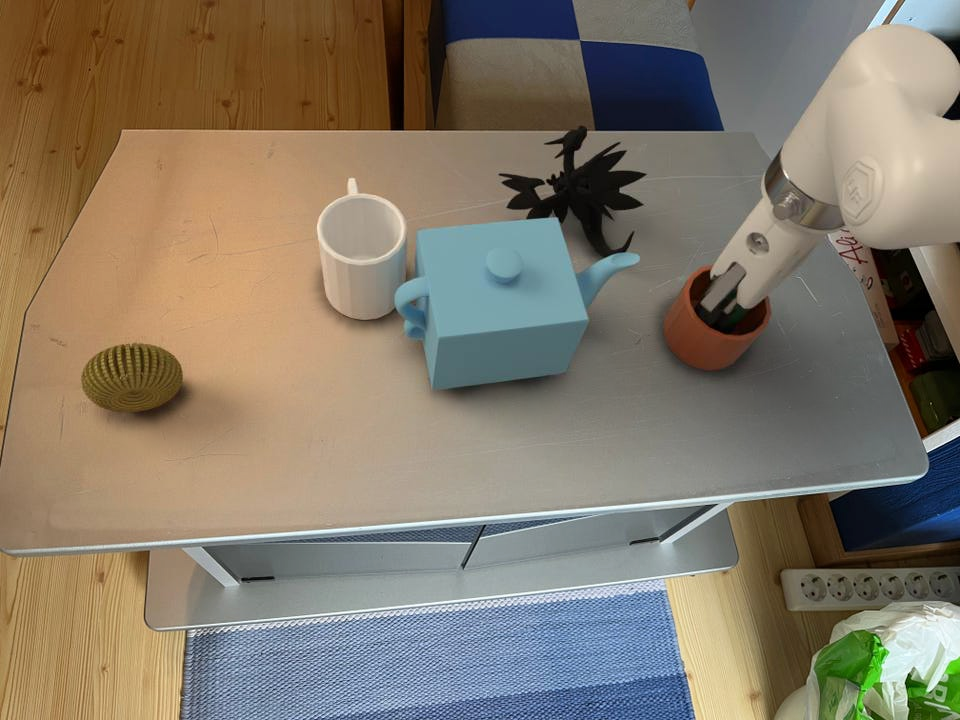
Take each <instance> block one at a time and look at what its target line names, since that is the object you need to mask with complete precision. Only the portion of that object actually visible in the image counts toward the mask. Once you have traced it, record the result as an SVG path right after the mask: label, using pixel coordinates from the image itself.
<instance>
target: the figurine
mask: <svg viewBox="0 0 960 720" xmlns="http://www.w3.org/2000/svg"><path fill="white" fill-rule="evenodd" d="M587 137H588V128H587V127H586V126H585V125H582V124H581V125H579V126H578V128H577V129H571V130H569V131H567V132H566V133H565V134H564V135H563V136H562V137H560V138H557V139H554V140H550V141H547V142H543V145H545V146H552V145H562V149H561V151H560V152H558V153H557V155H555V156H554V159H558V158H560V157H563V159H562V160H563V161H562V167H563V170H560V171H559V176H558V177H556V174H555V173H552V174H551V175H550V178H546V179H545V180H543V179H542V178H538V177H529V176H523V175H518V174H512V173H504V172H503V173H502V172H501V173H498V174H497V175H498V176H499V177H504V178H507V179H505V180H503V181H501V182H500V184H502V185H503V186H504V187H507V188H509V189H511V190H514V191H516V192H518V193H517V194H515V195H514V196H513V197H512V198H511V199H510V200H509V202H508V204H507V205H506V209H508V210H512V211H525V210H529V211H528V212H527V215H526V218H525V220H529V219H541V218H550V216H551V215H552V213H553V214H554V217H558V220H559V223H560V225H563V224H564V222H565V221H566V219H567V216H568V212H569V210H570V211H571V212H572V214H573V216H574V217H575V218H576V219H577V220H578V221H579V222H580V226H581V228H582V231H583V233H584V236H585V238H586V239H587V241H588V242H589V244H590V246H592V248H593V249H594V250H595V252H596V253H597V254H598V255H599V256H601V257H602V258H603V259H604V258H606V257H609V256H611V255H614V254H618V253H627V252H628V249H629V248H630V246H631V243H632V240H633V238H634V235H635V230H632V232H631V233H630V234H629V235H628V237H627V239H626V241H625V243H624V244H623V245H622V246H621V247H619V248H618V247H617V248H616V249H611V247H610V246H609V245H608V243H607V242H606V238H605V236H604V234H603V215H604V216H605V217H607V218H608V219H610V220H612V221H613V222H615V219H614V217H613V215H612V214H611V213H610V211H609V210H608V209H610V210H612V211H613V212H616V211H617V212H618V211H619V212H620V211H628V210H629V211H630V210H634V209H637V208H640V207H643V206H645V204H644V203H642V202H641V201H640V200H638V199H637V198H635V197H634V196H633V197H632V196H631V195H629V194H627V193H622V192H620V191H621V189H622V188H624V187H626V186H628V185H631V184H633V183H635V182H638V181H640V180H641V179H642V178H644V177H646V176H647V175H648V173H645V172H641V171H636V170H627V169H626V170H624V169H623V170H612V169H613V168H615V166H616V165H617V164H618V163H619V162H620V161H621V160H622V159H623V158H624V156H625V155H626V154H627V152H628V149H624V150H617V151H615V152H611V151H612V150H613V149H615V148H616V147H618V146H620V144H621V143H622V142H621V141H617V142H614V143H613V144H611V145H610V146H608V147H606V148H604V149H603V150H601V151H600V152H599V153H597V154H595V155H594V156H593V157H592V158H590V159H589V160H588V161H585V162H584V163H583V165H580V166H578V167H577V168H575V167H576V166H575V152H578V151H579V150H580V149H581V148H582V146H583V143H584V141H585V139H586V138H587ZM609 152H611V153H609ZM546 183H547V184H548V186H550V187H552V190H553V192H554V194H552V195H550V196H548V197H545V198H542V199H541V197H540V196H539V194H538V192H537V191H536V188H537V187H540V186H545V185H546Z"/></svg>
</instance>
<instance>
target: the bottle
mask: <svg viewBox="0 0 960 720" xmlns="http://www.w3.org/2000/svg"><path fill="white" fill-rule="evenodd" d="M716 280H717V279H716ZM716 280H715V279H714V280H713V281H712V283H711V284H710V286H709V287H708V288H707V290H708V289H709V288H710V287H711V286H712V285H713V283H714V282H715V281H716ZM707 290H706V291H707ZM706 291H705V293H706ZM705 293H704V294H705ZM704 294H703V296H704ZM703 296H702V297H703ZM735 296H736V294H735V293H734V292H733V291H731V292H730V293H729V294H728V296H727V297H729V298H730V299H731V300H732V299H733V298H734V297H735ZM702 297H701V298H702ZM700 300H701V299H700ZM700 300H699V301H700ZM698 303H699V302H698ZM698 303H697V304H698ZM696 306H697V305H696ZM696 306H695V307H696ZM695 307H694V308H695ZM735 309H736V310H737V311H736V312H735V313H734V314H733V316H732V317H731V318H730V319H729V321H728V322H727V323H726V324H725V326H724V327H723V328H722V329H721V330H720V331H719V332H721V333H723V334H727V335H729V334H730V333H731V332H732V331H733V329H734V328H735V327H736V326H737V325H738V323H739V322H740V321H741V320H742V318H743V317H744V316H745V315H746V313H747V312H748V311H749V310H750V309H751V308H749V309H744V308H743V307H742V306H741V305H739V304H737V306H736V307H735Z"/></svg>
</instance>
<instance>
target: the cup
mask: <svg viewBox="0 0 960 720" xmlns="http://www.w3.org/2000/svg"><path fill="white" fill-rule="evenodd" d="M714 264H715V263H713V264H711V265H706V266H703V267H699V268H698V269H697V270H695V271H694V272H693V273H691V275H690V276H689V277H688V278H687V280H686V282H685V283H684V284H683V286H682V288H681V289H680V291H679V292H678V294H677V295H676V296H675V299H674V300H673V301H672V303H671V305H670V306H669V308H668V310H667V312H666V314H665V316H664V319H663V324H662V329H663V336H664V340H665V342H666V344H667V345H668V347H669V349H670V350H671V352H672V353H673V354H674V355H675V356H676V357H677V358H678V359H679V360H681V361H682V362H684V363H685V364H687V365H688V366H691V367H693V368H695V369H699V370H704V371H719V370H724V369H726V368H728V367H729V366H732V365H733V364H734V363H735V362H736V361H737V360H738V359H739V358H740V357H741V356H742V355H743V354H744V353H745V352H746V351H747V350H748V349H749V348H750V346H751V345H752V344H753V343H754V342H755V341H756V339H758V337H759V336H760V335H761V334H762V333H763V332H764V331H765V330H766V328H767V327H768V326H769V322H770V319H771V317H772V308H771V302H770V297H769V295H767V296H766V297H765V298H764V299H763V300H762V301H761V302H759V303H758V304H757V305H756V306H754V307H753V308H751V309H750V310H749V311H748V312H747V313H746V315H745V316H744V317H743V318H742V320H741V321H740V322H739V323H738V325H737V326H736V327H735V328H734V329H733V331H732V332H731V333H730V334H729V335H727V334H723V333H721V332H718V331H716V330H714V329H712V328H710V327H708V326H707V325H706V324H705V323H704V322H703V321H702V320H701V319H700V318H698V317H697V315H696V313H695V311H694V307H695V306H696V305H697V303H698V302H699V300H700V299H701V297H702V296H703V294H704V293H705V291H706V290H707V288H708V287H709V286H710V284H711V283H712V281H713V280H714V279H712V280H711V278H710V272H711V269H712V267H713V266H714Z"/></svg>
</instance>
